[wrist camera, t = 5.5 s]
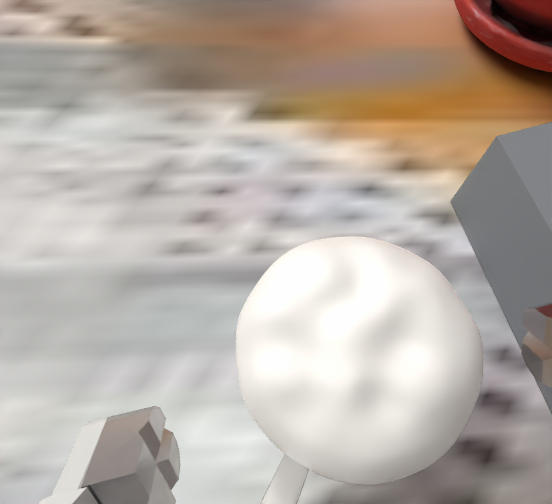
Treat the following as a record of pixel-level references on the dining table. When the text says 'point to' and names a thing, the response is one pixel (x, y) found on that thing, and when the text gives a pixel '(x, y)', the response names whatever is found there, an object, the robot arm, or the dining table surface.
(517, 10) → the plant pot
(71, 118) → the dining table surface
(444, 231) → the dining table surface
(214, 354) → the dining table surface
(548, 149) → the socket collar
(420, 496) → the dining table surface
